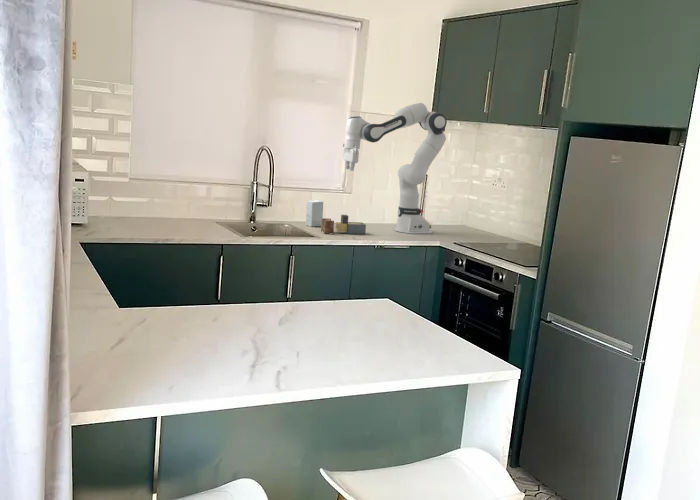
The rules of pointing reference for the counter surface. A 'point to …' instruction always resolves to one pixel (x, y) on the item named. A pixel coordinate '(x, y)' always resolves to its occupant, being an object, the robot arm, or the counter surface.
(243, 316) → the counter surface
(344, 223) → the tan block
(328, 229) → the brown wooden box
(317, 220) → the skincare box
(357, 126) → the robot arm
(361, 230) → the sleeve
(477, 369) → the counter surface
